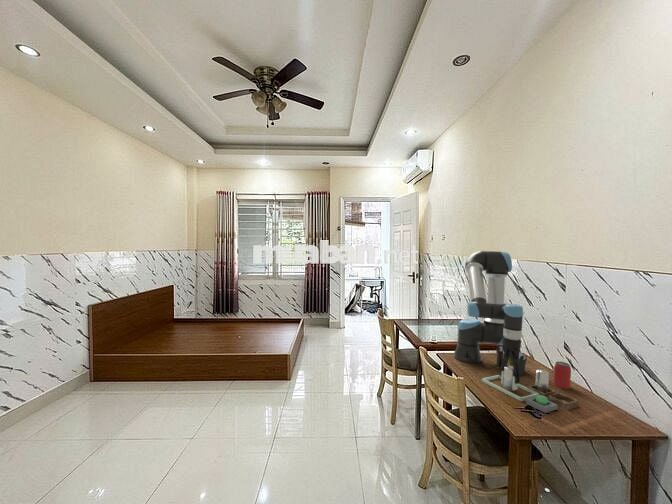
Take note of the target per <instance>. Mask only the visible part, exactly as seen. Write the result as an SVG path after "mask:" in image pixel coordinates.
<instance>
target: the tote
mask: <svg viewBox="0 0 672 504" xmlns="http://www.w3.org/2000/svg"><path fill="white" fill-rule="evenodd" d="M499 379H500V380H501V376H500V374H496V375H492V376H487V377H482V378H481V379H480V381H481V382H482V383H484V384H485V385H488V386H490V387H492V388H493V389H495V390H497V391H499V392H502V393H503V394H505V395H508V396H509V397H511V398H514V399H516V400H517V401H519V402H526V399H528V398H532V397H535V396H536V395H540V394H539V393H537V392H535V391H533V390H531V389H528V388H527V386H524V385H523V384H521V383H519V384H518V389H521V390H523V391H525V390H526V391H528V392H527V393H529V392H530V393H529V395H525V396H520V395H517V394H515V393H513V392H512V391H510V390H506V389H504V388H503V387H501V386H499V385H497V384H495V383H493V382H491V381H493V380H499ZM526 391H525V392H526ZM531 393H532V394H531Z"/></svg>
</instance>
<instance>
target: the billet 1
mask: <svg viewBox="0 0 672 504" xmlns="http://www.w3.org/2000/svg"><path fill="white" fill-rule="evenodd" d="M514 375H515V374H514V368H513V366H510V364H509V365H508V364H507V365H505V366H504V378H503V385H502V388H503V389H505V390H507V391H509V392H512V391H516V390H512V383H513V376H514Z"/></svg>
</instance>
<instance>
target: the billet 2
mask: <svg viewBox="0 0 672 504" xmlns="http://www.w3.org/2000/svg"><path fill="white" fill-rule="evenodd" d="M534 380H535V382H534V385H535V389H536V390H538V391H540V392H543V393H547V392H548V388H549V382H550V372H549V371H547V370H545V369H539V368H537V369H536V370H535V379H534Z"/></svg>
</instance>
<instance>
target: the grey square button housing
mask: <svg viewBox="0 0 672 504" xmlns="http://www.w3.org/2000/svg"><path fill="white" fill-rule="evenodd" d="M525 404H527V405H528V406H531V407H532V408H534V409H536V410H539V411H541V412H542V413H545V414H546V413H550V412H553V411H555V410H558V407H559V406H558V405H557V404H555V403H553V402H550V401H547V405H545V406H543V405H541V404H539V403H537V402H536V396H535V397H532V398H528V399H526V400H525Z"/></svg>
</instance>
